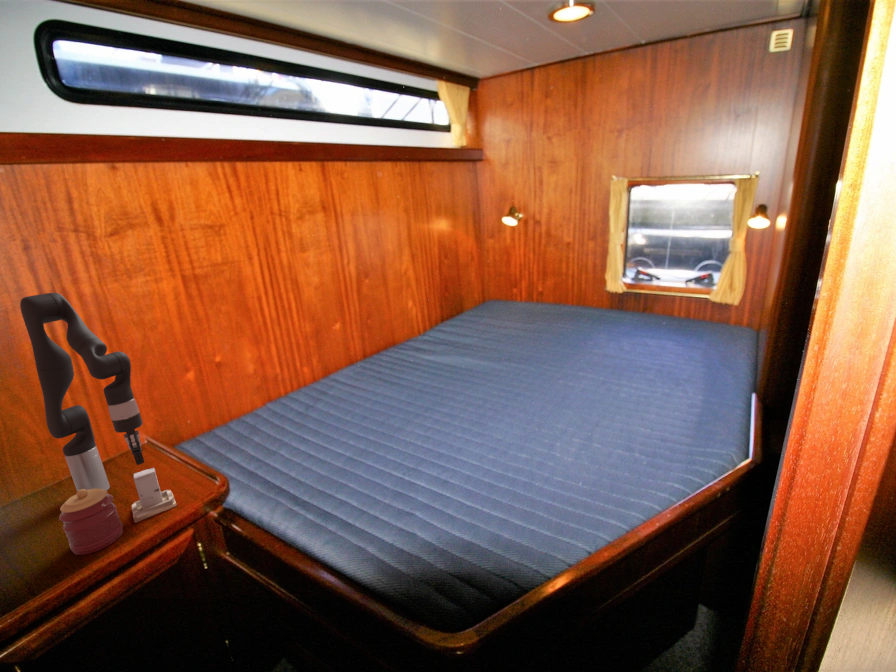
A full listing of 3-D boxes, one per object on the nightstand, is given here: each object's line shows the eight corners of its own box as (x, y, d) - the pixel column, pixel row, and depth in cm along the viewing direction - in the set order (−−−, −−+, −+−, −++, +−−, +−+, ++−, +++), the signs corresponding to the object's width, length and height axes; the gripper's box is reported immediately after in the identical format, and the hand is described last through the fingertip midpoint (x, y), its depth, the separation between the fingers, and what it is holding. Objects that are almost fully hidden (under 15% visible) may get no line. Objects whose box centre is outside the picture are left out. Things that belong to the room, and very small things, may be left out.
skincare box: (143, 511, 149) (132, 479, 146) (142, 506, 153) (132, 473, 150) (164, 503, 153) (154, 471, 150) (163, 498, 156) (153, 466, 153)
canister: (97, 527, 145) (80, 478, 141) (134, 526, 144) (118, 476, 140) (60, 556, 133) (40, 503, 129) (99, 555, 131) (80, 502, 127)
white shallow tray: (132, 509, 153) (130, 503, 153) (172, 494, 160) (170, 487, 160) (134, 522, 145) (132, 516, 145) (176, 505, 152) (174, 499, 152)
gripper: (110, 413, 148) (125, 461, 152) (111, 424, 137) (128, 475, 142) (137, 405, 152) (151, 452, 156) (140, 415, 142) (156, 465, 146)
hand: (140, 463), depth 149 cm, fingers closed
